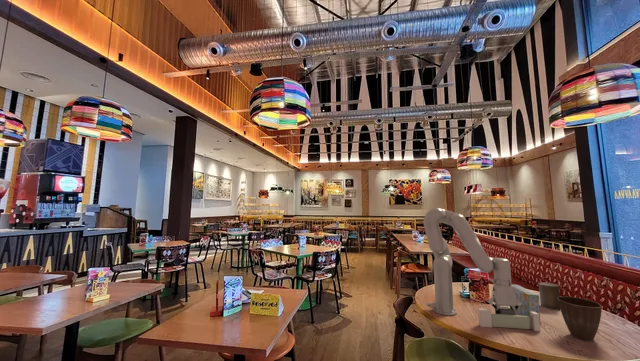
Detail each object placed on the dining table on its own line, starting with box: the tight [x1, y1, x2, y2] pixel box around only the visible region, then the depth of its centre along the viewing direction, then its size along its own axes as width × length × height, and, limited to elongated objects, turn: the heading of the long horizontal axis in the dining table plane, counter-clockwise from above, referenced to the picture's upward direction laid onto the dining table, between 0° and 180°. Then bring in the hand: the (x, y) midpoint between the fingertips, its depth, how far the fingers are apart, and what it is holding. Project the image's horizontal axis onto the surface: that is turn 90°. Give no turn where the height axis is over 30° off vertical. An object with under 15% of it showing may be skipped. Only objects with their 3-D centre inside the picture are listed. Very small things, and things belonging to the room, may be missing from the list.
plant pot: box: [558, 296, 603, 342], centre depth 122 cm, size 15×15×16 cm
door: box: [491, 313, 533, 330], centre depth 130 cm, size 18×2×6 cm, turn 82°
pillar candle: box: [538, 281, 561, 311], centre depth 161 cm, size 10×10×15 cm
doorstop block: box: [499, 306, 517, 315], centre depth 136 cm, size 6×7×5 cm
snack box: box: [509, 283, 541, 326], centre depth 145 cm, size 21×6×15 cm, turn 168°
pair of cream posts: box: [477, 308, 541, 332], centre depth 131 cm, size 27×3×8 cm, turn 82°
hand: (505, 317), depth 136 cm, fingers closed on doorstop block, 6 cm apart
